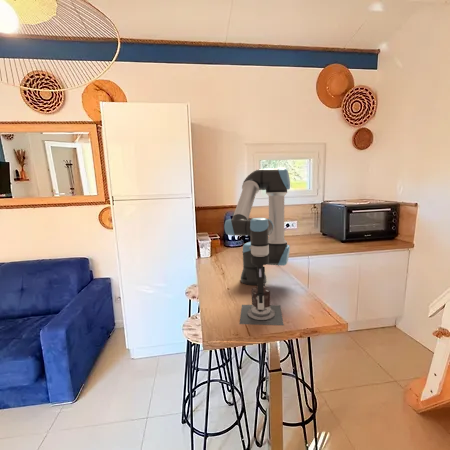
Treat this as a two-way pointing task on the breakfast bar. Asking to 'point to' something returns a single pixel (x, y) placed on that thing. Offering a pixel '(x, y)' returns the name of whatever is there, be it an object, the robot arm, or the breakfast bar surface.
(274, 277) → the breakfast bar surface
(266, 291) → the box
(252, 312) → the metal bowl
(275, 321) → the mat
